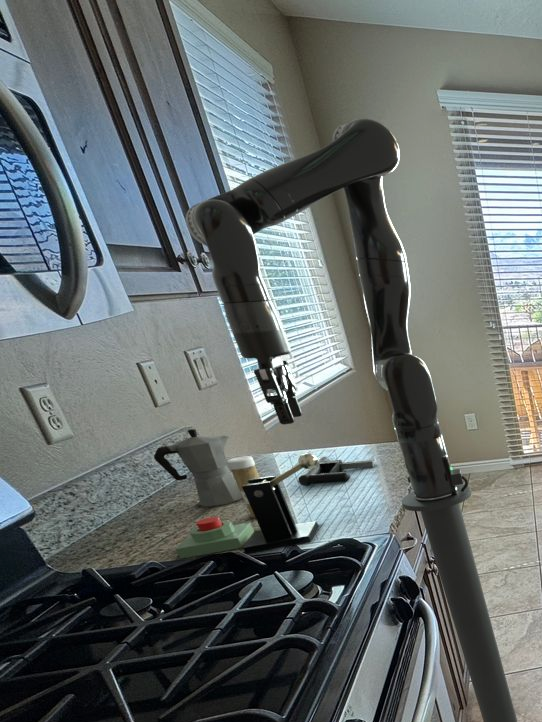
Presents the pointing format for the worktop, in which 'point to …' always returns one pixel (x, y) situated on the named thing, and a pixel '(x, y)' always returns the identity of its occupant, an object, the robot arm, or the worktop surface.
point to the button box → (215, 539)
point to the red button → (209, 524)
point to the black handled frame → (331, 471)
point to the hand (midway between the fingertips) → (292, 419)
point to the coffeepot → (203, 467)
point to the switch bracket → (273, 518)
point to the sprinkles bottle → (243, 474)
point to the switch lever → (296, 468)
